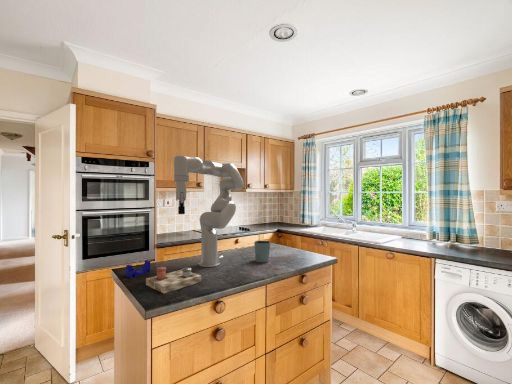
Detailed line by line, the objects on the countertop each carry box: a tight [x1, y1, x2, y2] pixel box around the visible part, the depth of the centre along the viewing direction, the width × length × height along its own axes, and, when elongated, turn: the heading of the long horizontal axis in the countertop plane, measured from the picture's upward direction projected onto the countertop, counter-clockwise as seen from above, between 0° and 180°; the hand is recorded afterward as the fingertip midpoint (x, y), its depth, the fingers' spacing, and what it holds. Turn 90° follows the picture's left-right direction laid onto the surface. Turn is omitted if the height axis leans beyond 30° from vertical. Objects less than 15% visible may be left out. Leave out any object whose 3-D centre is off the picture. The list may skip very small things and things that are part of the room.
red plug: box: [155, 266, 167, 281], centre depth 128 cm, size 5×5×6 cm
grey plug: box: [181, 266, 192, 278], centre depth 131 cm, size 5×5×6 cm
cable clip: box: [125, 259, 151, 279], centre depth 144 cm, size 12×4×6 cm, turn 145°
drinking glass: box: [253, 240, 271, 264], centre depth 171 cm, size 10×10×12 cm
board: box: [145, 269, 202, 294], centre depth 130 cm, size 20×16×3 cm
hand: (181, 214), depth 143 cm, fingers closed
